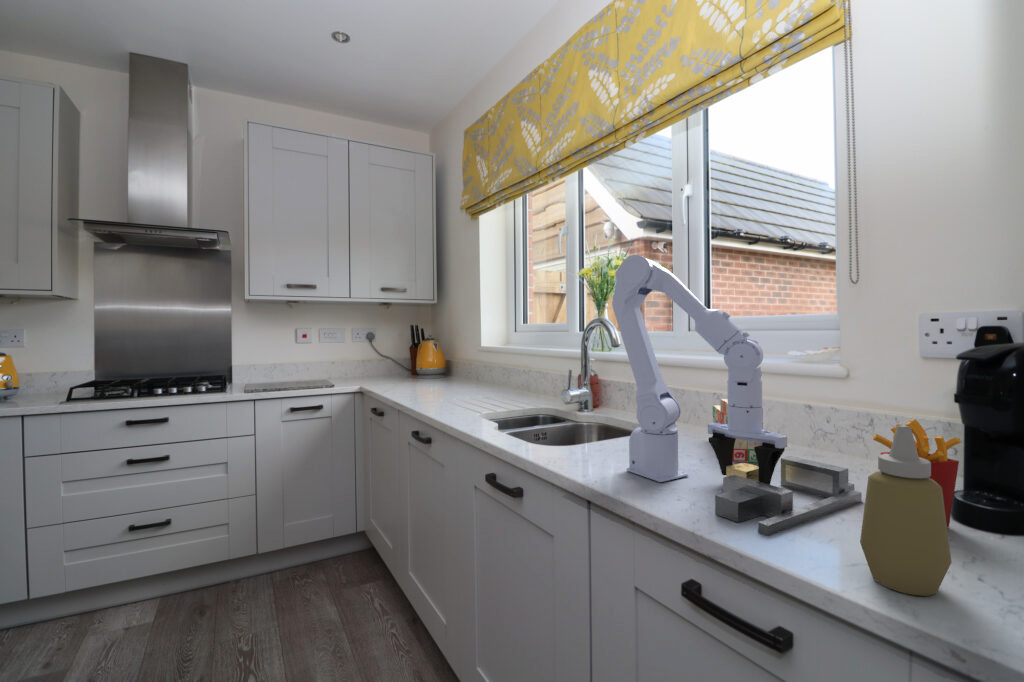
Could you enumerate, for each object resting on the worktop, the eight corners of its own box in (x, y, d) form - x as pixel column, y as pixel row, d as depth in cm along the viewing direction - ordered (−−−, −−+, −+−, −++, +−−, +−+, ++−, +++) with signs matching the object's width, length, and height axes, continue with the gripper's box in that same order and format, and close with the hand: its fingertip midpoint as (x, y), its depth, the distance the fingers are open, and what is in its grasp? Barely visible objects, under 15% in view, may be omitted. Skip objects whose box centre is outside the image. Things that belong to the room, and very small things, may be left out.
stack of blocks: (712, 440, 127) (712, 393, 127) (738, 440, 126) (737, 393, 125) (732, 462, 106) (732, 406, 106) (763, 463, 105) (763, 406, 104)
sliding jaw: (699, 508, 79) (699, 483, 79) (734, 497, 83) (734, 474, 83) (756, 529, 70) (756, 502, 70) (793, 516, 75) (793, 491, 74)
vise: (697, 509, 78) (697, 478, 78) (796, 480, 92) (796, 454, 92) (768, 536, 68) (767, 500, 68) (867, 498, 82) (867, 469, 82)
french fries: (961, 529, 69) (962, 425, 69) (912, 534, 68) (912, 428, 68) (903, 507, 78) (903, 414, 78) (858, 511, 77) (858, 417, 76)
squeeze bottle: (843, 568, 59) (843, 421, 58) (904, 564, 59) (905, 419, 59) (902, 606, 51) (902, 435, 50) (972, 601, 51) (973, 432, 51)
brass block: (726, 488, 89) (726, 466, 89) (743, 483, 92) (743, 462, 91) (746, 494, 86) (746, 471, 85) (763, 489, 88) (763, 467, 88)
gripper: (797, 408, 84) (797, 486, 84) (723, 399, 96) (724, 466, 97) (773, 412, 80) (773, 493, 81) (700, 402, 93) (700, 472, 93)
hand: (745, 479), depth 88 cm, fingers open, 7 cm apart
